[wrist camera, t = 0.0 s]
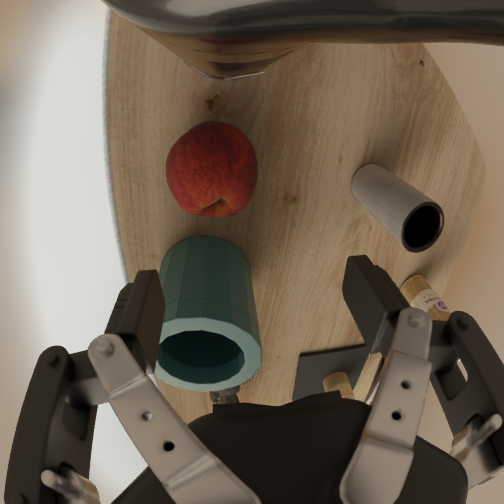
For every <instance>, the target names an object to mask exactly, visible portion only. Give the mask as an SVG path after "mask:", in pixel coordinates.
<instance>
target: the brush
mask: <svg viewBox="0 0 504 504" xmlns="http://www.w3.org/2000/svg"><path fill="white" fill-rule="evenodd" d="M323 386H324V389H325V392H329V391H335V390H340V393H341V396H342V398H349V399H355V397H354V394H353V391H352V388H351V385H350V383H349V380H348V377H347V374H346V373H345V372H335V373H332V374H330V375H328V376H327V377H325V378H324V380H323Z"/></svg>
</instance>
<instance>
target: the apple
mask: <svg viewBox="0 0 504 504" xmlns="http://www.w3.org/2000/svg"><path fill="white" fill-rule="evenodd" d="M166 177H167V182H168V185H169V187H170V190H171V192H172V194H173V196H174V197H175V199H176V201H177V202H178V204H179V205H180V206H181V207H182V208H183V209H184V210H185V211H187V212H188V213H191V214H195V215H200V216H210V217H218V218H223V217H229V216H233V215H235V214H237V213H238V212H240V211H241V210H242V209H244V208H245V207H246V205H247V204H248V203H249V201H250V200H251V198H252V196H253V194H254V190H255V187H256V181H257V159H256V154H255V151H254V148H253V146H252V144H251V142H250V140H249V139H248V138H247V137H246V136H245V134H244V133H242V132H241V131H240V130H239V129H237V128H236V127H234V126H232V125H229V124H227V123H223V122H215V121H212V122H204V123H201V124H199V125H197V126H195V127H193V128H192V129H190V130H189V131H188V132H187V133H185V134H184V135H183V136H182V137H181V138H180V139H179V140H178V141H177V142H176V143H175V144H174V145H173V147H172V148H171V150H170V152H169V154H168V157H167V161H166Z"/></svg>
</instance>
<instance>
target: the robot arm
mask: <svg viewBox="0 0 504 504" xmlns="http://www.w3.org/2000/svg"><path fill="white" fill-rule="evenodd" d="M102 2H103V3H105V4H106V5H107V6H108V7H109V8H110V9H111V10H113V11H114V12H115V13H116V14H118V15H119V16H121V17H122V18H123V19H125V20H126V21H128V22H129V23H131V24H132V25H134V26H136V27H137V28H139V29H140V30H142V31H143V32H145V33H146V34H148V35H149V36H151V37H152V38H153V39H155V40H156V41H158V42H159V43H161V44H162V45H164V46H165V47H167V48H168V49H169V50H171V51H172V52H173V53H175V54H176V55H177V56H179V57H180V58H181V59H183V60H184V61H185V62H186V63H187V64H188V65H189V66H190V67H191V68H192V69H194V70H195V71H197V72H199V73H200V74H203V75H205V76H207V77H210V78H214V79H220V80H236V79H242V78H246V77H249V76H252V75H256V74H262V73H258V72H260V71H262V70H263V69H265V68H266V67H267V66H269V65H270V64H272V63H273V62H275V61H277V60H279V59H280V58H282V57H284V56H286V55H288V54H289V53H291V52H293V51H295V50H297V49H298V48H300V47H302V46H304V45H306V44H308V43H346V44H398V43H430V42H453V43H474V44H486V45H496V46H504V0H102ZM263 73H265V72H263ZM342 292H343V297H344V300H345V302H346V304H347V306H348V308H349V310H350V312H351V314H352V316H353V318H354V320H355V322H356V324H357V326H358V328H359V330H360V332H361V335H362V337H363V339H364V341H365V343H366V345H367V347H368V350H369V352H370V354H374V353H378V352H381V354H382V358H381V360H380V362H379V365H378V368H377V371H376V374H375V377H374V379H373V382H372V385H371V387H370V390H369V392H368V395H367V397H366V399H365V401H364V402H361V401H359V400H354V399H349V398H342V396H341V393H340V390H335V391H329V392H324V393H318V394H312V395H308V396H306V397H303V398H301V399H298V400H295V401H293V402H290V403H287V404H285V405H282V406H268V405H260V404H252V403H230V404H213V413H210V414H207V415H204V416H202V417H199V418H197V419H195V420H194V421H192V422H191V423H189V424H188V425H186V424H185V422H184V421H183V420H182V419H181V418H180V416H179V415H178V414H177V413H176V411H175V410H174V409H173V408H172V406H171V405H170V404H169V403H168V401H167V400H166V399H165V398H164V396H163V395H162V394H161V392H160V391H159V390H158V388H157V387H156V386H155V384H154V383H153V381H152V380H151V379H150V377H149V376H148V375H147V374H155V368H156V361H157V355H158V349H159V343H160V338H161V332H162V327H163V321H164V316H165V299H164V295H163V291H162V287H161V283H160V279H159V275H158V272H157V270H141V271H138V273H137V275H136V278H135V280H134V283H128V284H127V285H126V286H125V287H124V288H123V289H122V290H121V291H120V293H119V295H118V298H117V302H116V303H115V306H114V309H113V311H112V314H111V316H110V319H109V322H108V324H107V327H106V330H105V333H104V334H103V335H100V336H98V337H97V338H95V339H94V340H93V341H92V342H91V343H90V345H89V347H88V350H86V351H81V352H77V353H73V354H69V353H68V352H67V350H66V349H65V348H64V347H62V346H52V347H49V348H47V349H46V350H45V351H43V352H42V354H41V355H40V356H39V359H38V361H37V364H36V366H35V369H34V372H33V375H32V378H31V381H30V383H29V386H28V389H27V392H26V396H25V399H24V402H23V405H22V409H21V412H20V416H19V420H18V423H17V427H16V431H15V435H14V440H13V444H12V449H11V454H10V459H9V464H8V470H7V477H6V483H5V492H4V502H5V504H101V503H100V499H99V493H98V490H97V488H96V486H95V485H94V484H93V483H92V482H91V481H90V480H89V470H90V459H91V450H92V441H93V434H94V425H95V419H96V414H97V408H98V404H103V403H107V402H109V403H110V405H111V407H112V408H113V410H114V412H115V414H116V416H117V417H118V419H119V421H120V422H121V424H122V425H123V427H124V429H125V431H126V432H127V434H128V435H129V437H130V439H131V440H132V442H133V443H134V445H135V446H136V448H137V449H138V451H139V452H140V454H141V455H142V457H143V458H144V459H145V461H146V463H147V464H148V467H147V468H146V469H145V470H144V471H143V472H142V473H141V474H140V475H139V476H138V477H137V478H136V479H135V480H134V481H133V482H132V483H131V484H130V485H129V486H128V487H127V488H126V489H125V490H124V491H123V492H122V493H121V494H120V495H119V496H118V497H117V498H116V499H115V500H114V501H113V502H112V503H111V504H466V499H467V493H468V490H469V489H471V488H472V487H474V486H476V485H480V484H483V483H485V482H487V481H488V480H490V479H492V478H494V477H495V476H497V475H499V474H500V473H502V472H504V365H503V363H502V361H501V360H500V358H499V357H498V355H497V353H496V351H495V350H494V348H493V347H492V345H491V343H490V342H489V340H488V339H487V337H486V336H485V334H484V333H483V331H482V330H481V328H480V327H479V325H478V324H477V322H476V321H475V320H474V318H473V317H472V316H470V315H469V314H467V313H465V312H462V311H455V312H453V313H451V314H450V316H449V318H448V320H447V321H440V320H432V319H431V317H430V316H429V315H428V314H427V313H426V312H425V311H423V310H421V309H419V308H415V307H411V306H410V304H409V303H408V301H407V300H406V298H405V297H404V296H403V294H402V293H401V291H400V290H399V288H398V287H396V284H395V283H394V282H393V281H392V279H391V277H390V276H389V275H388V273H387V272H386V271H385V270H383V269H382V268H380V267H379V266H378V265H373V263H372V262H371V261H370V259H369V258H368V257H367V256H366V255H357V256H349V257H348V259H347V264H346V269H345V275H344V280H343V286H342ZM459 359H460V360H461V362H462V364H463V365H464V367H465V369H466V371H467V374H468V380H467V382H466V380H465V378H464V376H463V374H462V372H461V370H460V368H459V367H458V365H457V362H458V360H459ZM145 374H146V375H145ZM429 379H430V381H431V383H432V385H433V388H434V390H435V392H436V395H437V397H438V399H439V402H440V404H441V406H442V409H443V411H444V413H445V416H446V418H447V421H448V423H449V426H450V429H451V431H452V434H453V436H454V439H453V442H452V450H451V451H450V454H448V453H446V452H444V451H443V450H441V449H439V448H438V447H436V446H434V445H432V444H431V443H429V442H427V441H426V440H424V439H423V438H421V437H419V436H418V435H417V431H418V427H419V424H420V420H421V416H422V411H423V407H424V403H425V399H426V393H427V389H428V384H429Z"/></svg>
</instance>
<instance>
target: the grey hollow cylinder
mask: <svg viewBox="0 0 504 504" xmlns="http://www.w3.org/2000/svg"><path fill="white" fill-rule="evenodd" d="M351 189H352V193H353V195H354V197H355V198H356V199H357V200H358V202H360V203H361V204H362V205H363V206H364V207H365V208H366V209H367V210H368V211H369V212H370V213H371V214H372V215H373V216H374V217H375V218H376V219H377V220H378V221H379V222H380V223H381V224H382V225H383V226H384V227H385V228H386V229H387V230H388V231H389V232H390V233H391V234H392V235H393V237H394V238H395V239H396V240H397V241H398V242H399V243H400V244H401V245H402V246H403V247H404V248H405V249H406V250H407V251H409V252H413V253H418V252H422V251H424V250H426V249H428V248H430V247H431V246H432V245H433V244H434V243H435V242H436V241H437V239H438V238H439V236H440V234H441V232H442V230H443V226H444V214H443V210H442V208H441V207H440V206H439V205H438V204H437V203H436V202H434V201H433V200H432V199H430V198H429V197H427V196H426V195H424V194H423V193H422V192H420V191H419V190H417V189H416V188H414V187H413V186H411V185H410V184H408V183H406V182H405V181H403V180H402V179H400V178H399V177H397V176H396V175H394V174H392V173H391V172H389V171H387V170H386V169H384V168H383V167H381V166H378V165H376V164H368V165H365V166H363V167H361V168H360V169H359V170H358V171H357V172H356V173H355V175H354V177H353V179H352V184H351Z"/></svg>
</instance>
